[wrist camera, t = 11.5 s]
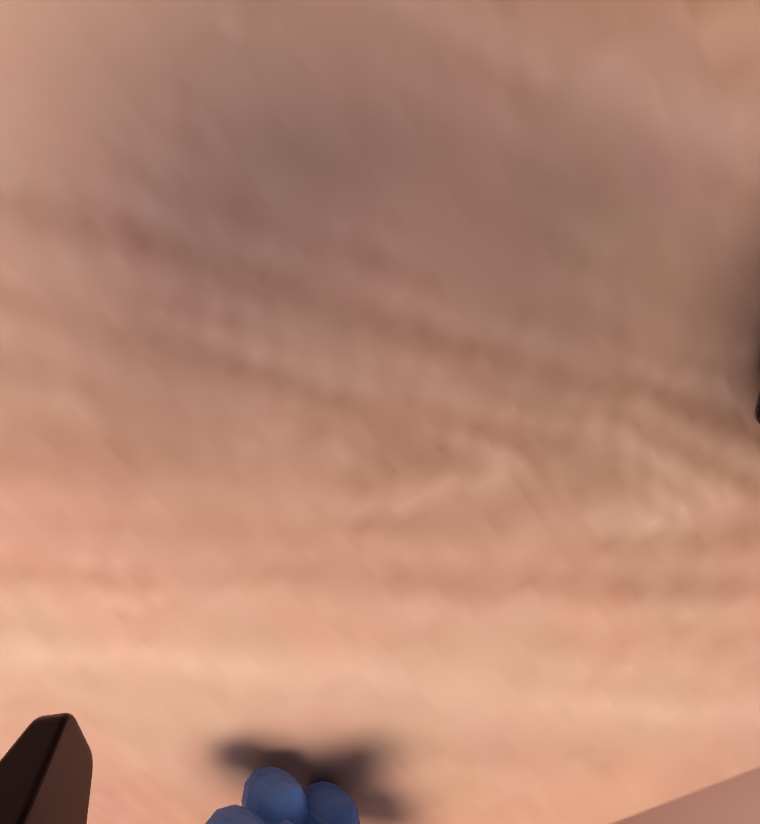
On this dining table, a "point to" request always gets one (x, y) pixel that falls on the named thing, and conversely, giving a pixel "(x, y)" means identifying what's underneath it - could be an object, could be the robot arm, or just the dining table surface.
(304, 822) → the grapes
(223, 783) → the dining table surface
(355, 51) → the dining table surface
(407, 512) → the dining table surface
